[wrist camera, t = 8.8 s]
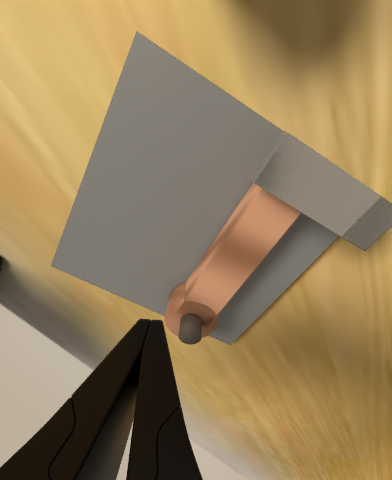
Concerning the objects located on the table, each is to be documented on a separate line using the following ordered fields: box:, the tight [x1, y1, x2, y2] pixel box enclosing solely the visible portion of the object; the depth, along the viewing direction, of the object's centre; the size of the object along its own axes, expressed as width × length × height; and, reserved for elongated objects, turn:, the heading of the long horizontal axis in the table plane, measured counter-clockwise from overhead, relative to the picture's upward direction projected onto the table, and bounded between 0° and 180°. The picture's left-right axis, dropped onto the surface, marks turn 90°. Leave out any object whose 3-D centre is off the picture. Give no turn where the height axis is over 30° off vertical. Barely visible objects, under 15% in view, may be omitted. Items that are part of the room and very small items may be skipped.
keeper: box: [251, 131, 392, 251], centre depth 17 cm, size 3×8×4 cm, turn 60°
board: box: [51, 31, 339, 345], centre depth 22 cm, size 19×19×1 cm
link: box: [165, 183, 301, 344], centre depth 20 cm, size 18×4×4 cm, turn 151°
